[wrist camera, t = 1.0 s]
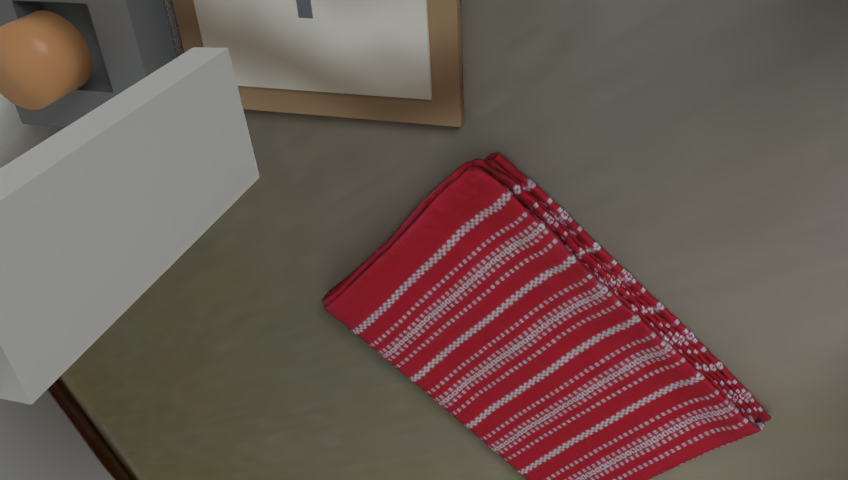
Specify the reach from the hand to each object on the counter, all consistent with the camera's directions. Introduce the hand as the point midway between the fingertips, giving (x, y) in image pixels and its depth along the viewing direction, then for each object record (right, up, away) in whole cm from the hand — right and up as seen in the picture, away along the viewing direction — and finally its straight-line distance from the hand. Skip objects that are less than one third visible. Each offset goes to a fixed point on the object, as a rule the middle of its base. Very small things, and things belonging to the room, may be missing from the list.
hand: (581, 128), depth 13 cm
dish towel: (+4, -8, +35) cm, 36 cm away
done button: (-23, +9, +29) cm, 38 cm away
